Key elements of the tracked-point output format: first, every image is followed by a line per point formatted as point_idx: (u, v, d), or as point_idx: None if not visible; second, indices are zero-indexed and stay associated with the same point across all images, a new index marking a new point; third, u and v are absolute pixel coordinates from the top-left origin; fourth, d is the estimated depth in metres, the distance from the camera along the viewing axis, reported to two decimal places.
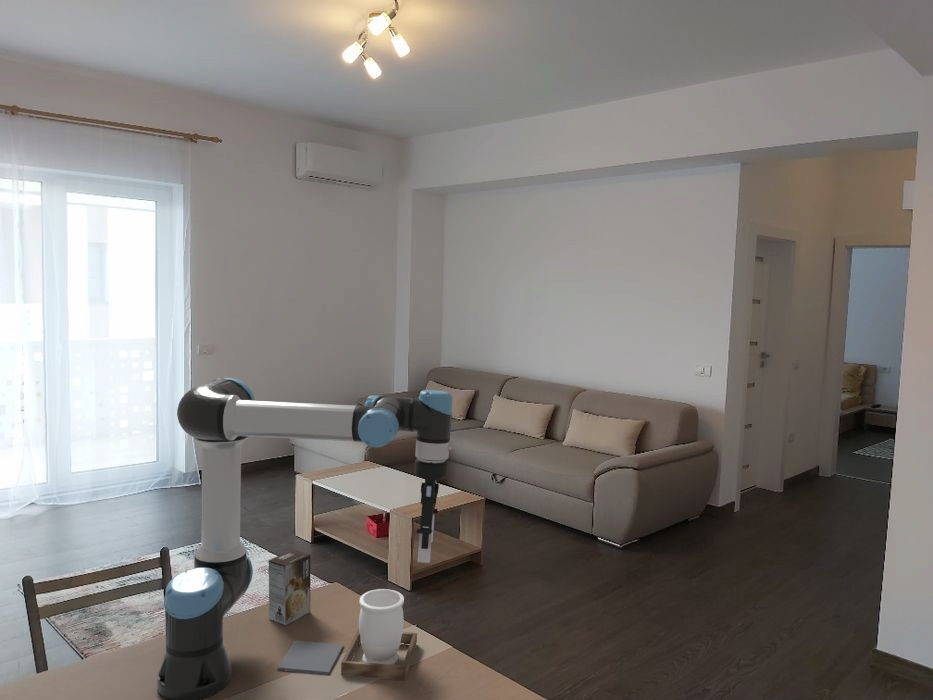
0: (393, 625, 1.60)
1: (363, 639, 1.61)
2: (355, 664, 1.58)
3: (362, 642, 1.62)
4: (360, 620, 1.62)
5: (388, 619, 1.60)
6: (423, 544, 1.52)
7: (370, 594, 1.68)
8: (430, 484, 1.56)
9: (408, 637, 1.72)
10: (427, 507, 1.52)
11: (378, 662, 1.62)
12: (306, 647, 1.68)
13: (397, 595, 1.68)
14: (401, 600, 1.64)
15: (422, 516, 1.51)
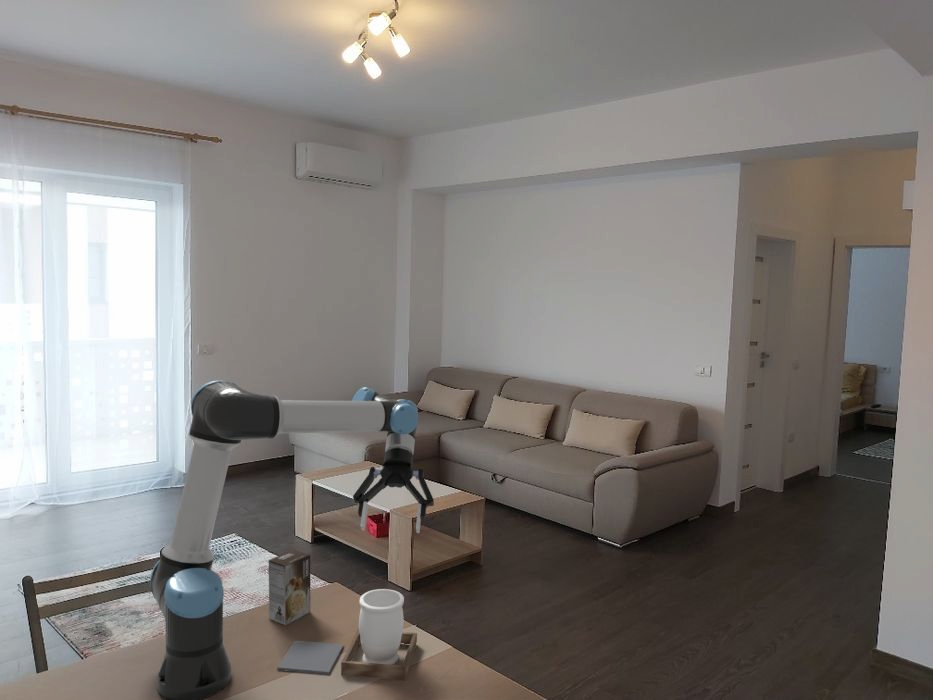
0: (393, 625, 1.60)
1: (363, 639, 1.61)
2: (355, 664, 1.58)
3: (362, 642, 1.62)
4: (360, 620, 1.62)
5: (388, 619, 1.60)
6: (425, 513, 1.74)
7: (370, 594, 1.68)
8: None
9: (408, 637, 1.72)
10: None
11: (378, 662, 1.62)
12: (306, 647, 1.68)
13: (397, 595, 1.68)
14: (401, 600, 1.64)
15: None
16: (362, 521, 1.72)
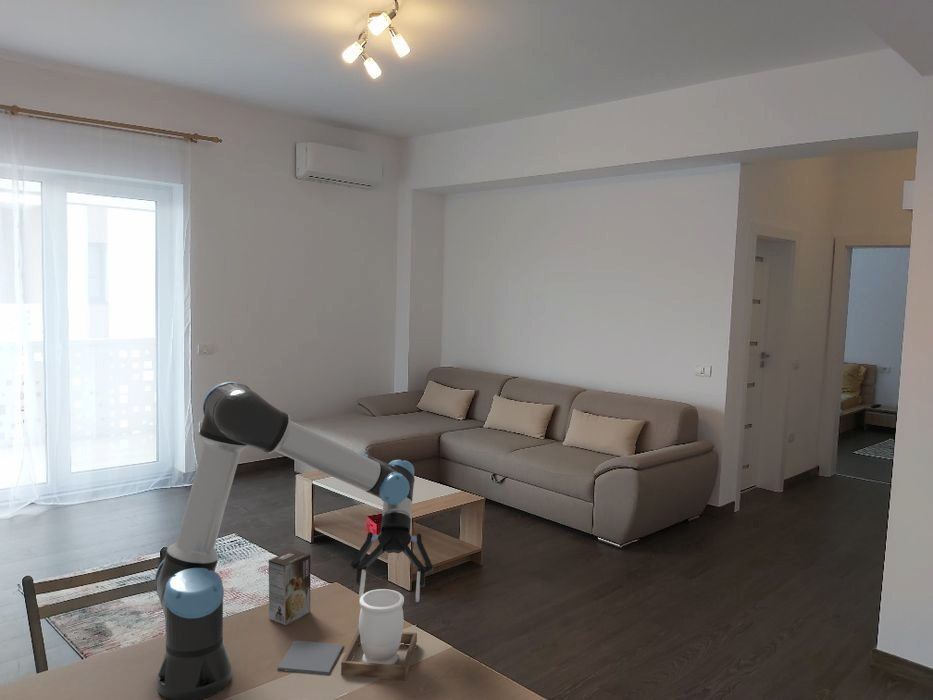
0: (393, 625, 1.60)
1: (363, 639, 1.61)
2: (355, 664, 1.58)
3: (362, 642, 1.62)
4: (360, 620, 1.62)
5: (388, 619, 1.60)
6: None
7: (370, 594, 1.68)
8: None
9: (408, 637, 1.72)
10: None
11: (378, 662, 1.62)
12: (306, 647, 1.68)
13: (397, 595, 1.68)
14: (401, 600, 1.64)
15: None
16: (361, 591, 1.70)
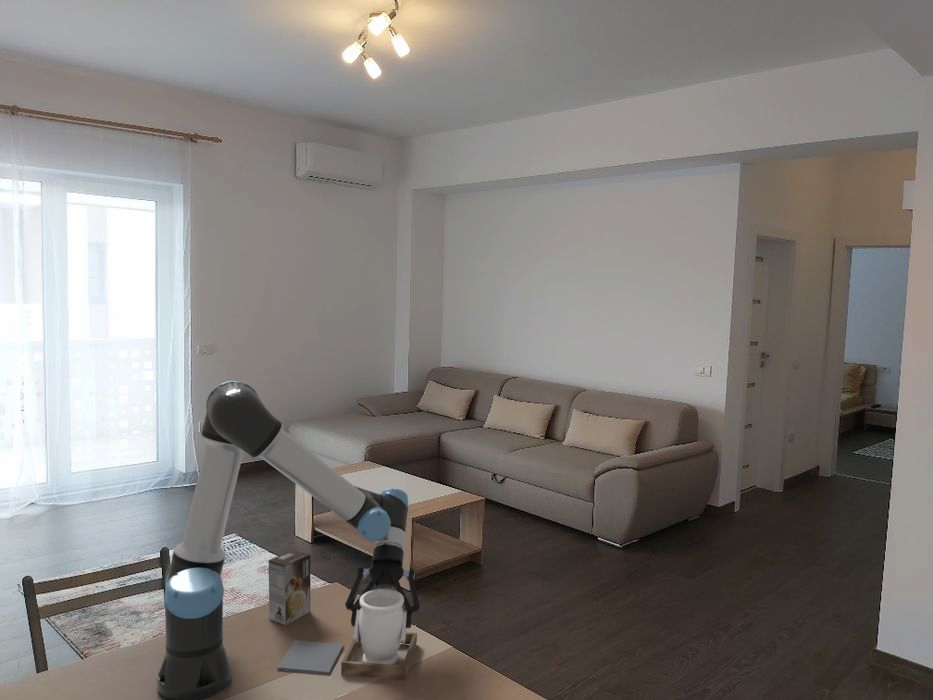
0: (393, 625, 1.60)
1: (363, 639, 1.61)
2: (355, 664, 1.58)
3: (362, 642, 1.62)
4: (360, 620, 1.62)
5: (389, 619, 1.60)
6: (410, 622, 1.64)
7: (370, 594, 1.68)
8: None
9: (408, 637, 1.72)
10: None
11: (378, 662, 1.62)
12: (306, 647, 1.68)
13: (397, 595, 1.68)
14: (401, 599, 1.64)
15: None
16: (355, 633, 1.62)
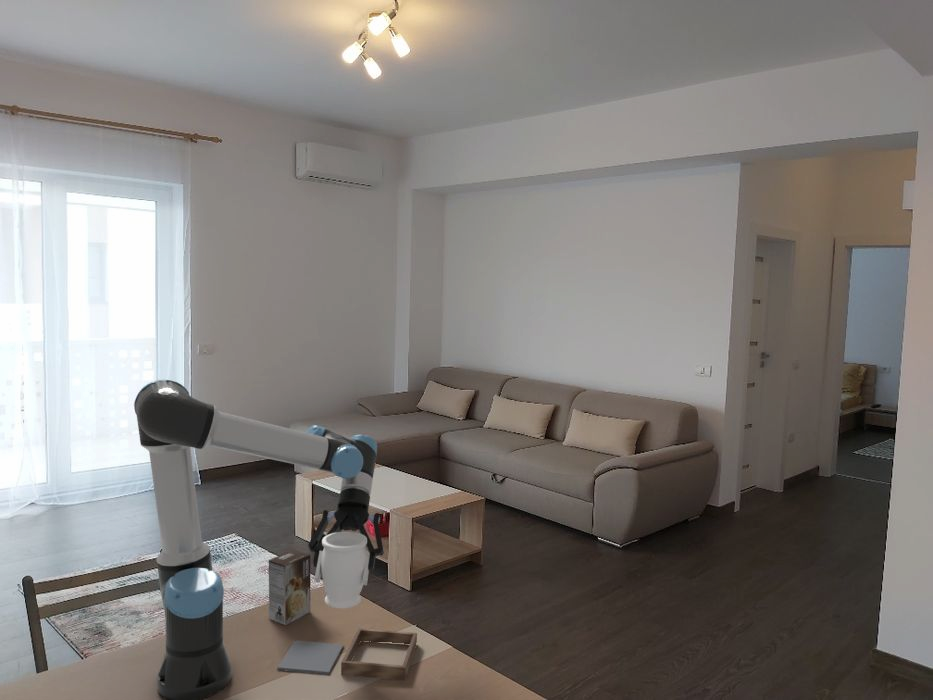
0: (355, 565, 1.59)
1: (325, 579, 1.60)
2: (355, 664, 1.58)
3: (324, 582, 1.61)
4: (322, 560, 1.61)
5: (350, 558, 1.59)
6: (373, 564, 1.63)
7: (334, 536, 1.66)
8: None
9: (408, 637, 1.72)
10: None
11: (339, 602, 1.60)
12: (306, 647, 1.68)
13: (361, 537, 1.66)
14: (363, 540, 1.62)
15: None
16: (317, 573, 1.60)
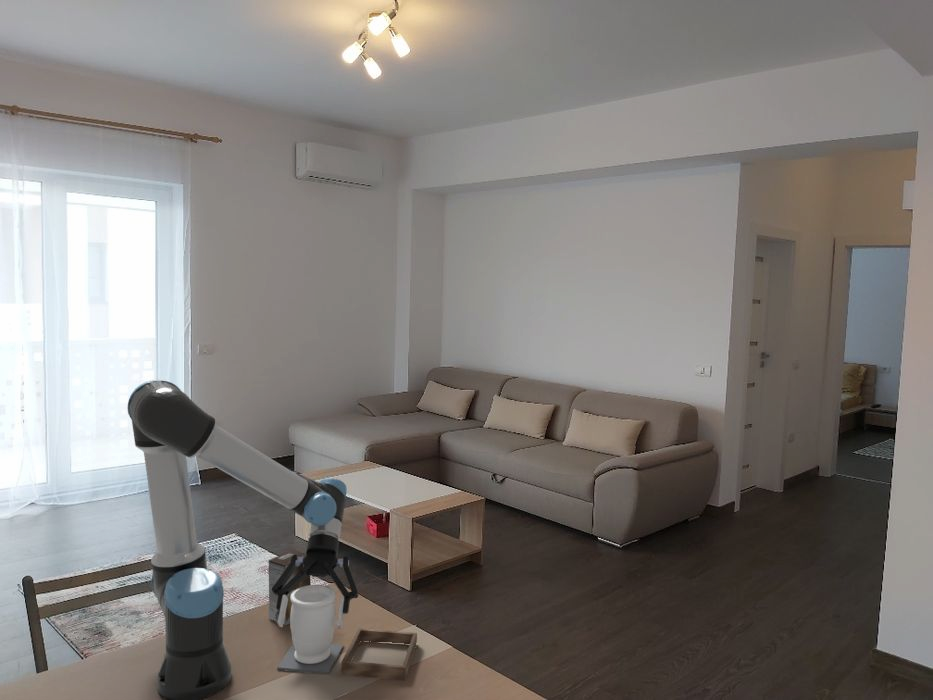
0: (323, 620, 1.60)
1: (293, 635, 1.61)
2: (355, 664, 1.58)
3: (293, 638, 1.62)
4: (291, 616, 1.62)
5: (318, 614, 1.60)
6: (348, 608, 1.64)
7: (303, 590, 1.67)
8: None
9: (408, 637, 1.72)
10: None
11: (308, 658, 1.61)
12: None
13: (330, 591, 1.67)
14: (332, 595, 1.63)
15: None
16: (280, 617, 1.62)
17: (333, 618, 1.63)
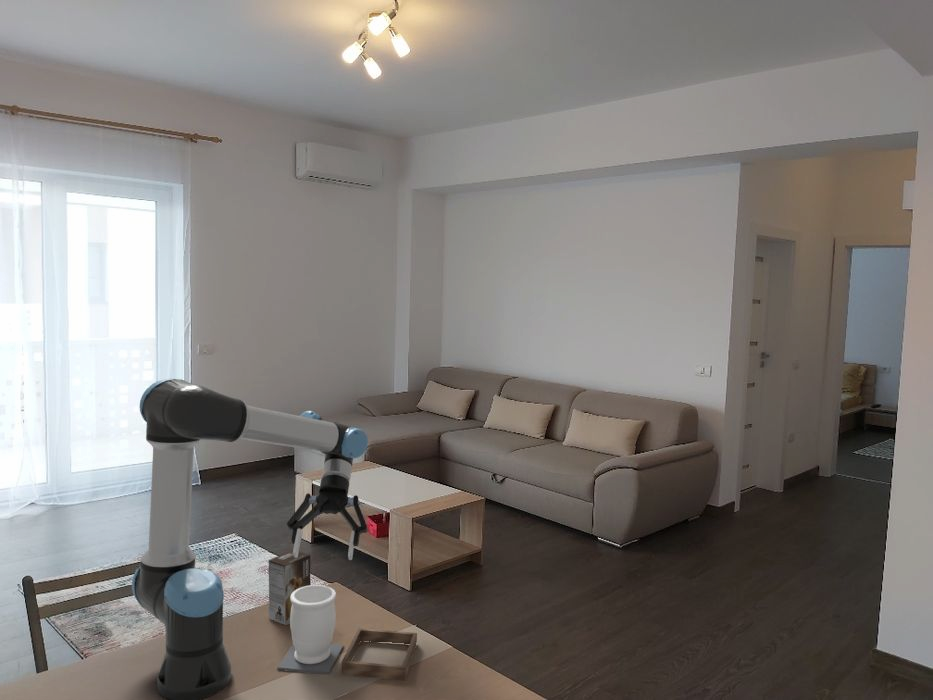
0: (323, 621, 1.60)
1: (293, 635, 1.61)
2: (355, 664, 1.58)
3: (293, 638, 1.62)
4: (291, 616, 1.62)
5: (318, 615, 1.59)
6: (358, 540, 1.77)
7: (303, 590, 1.67)
8: None
9: (408, 637, 1.72)
10: None
11: (308, 658, 1.61)
12: None
13: (330, 591, 1.67)
14: (332, 595, 1.63)
15: None
16: (295, 548, 1.74)
17: (333, 618, 1.63)
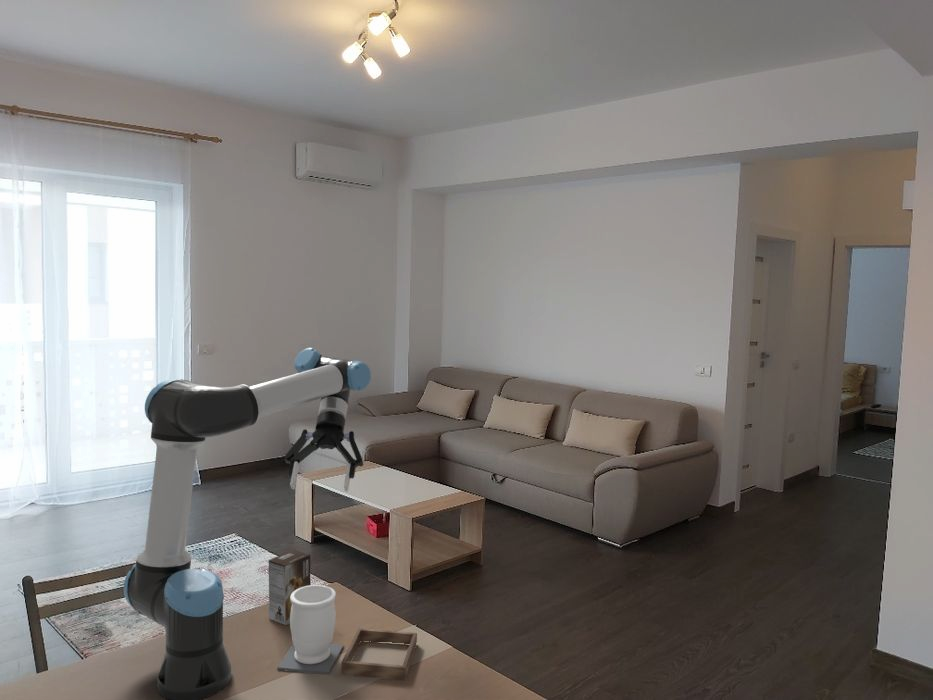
0: (323, 621, 1.60)
1: (293, 635, 1.61)
2: (355, 664, 1.58)
3: (293, 638, 1.62)
4: (291, 616, 1.62)
5: (318, 615, 1.59)
6: (353, 473, 1.81)
7: (303, 590, 1.67)
8: None
9: (408, 637, 1.72)
10: None
11: (308, 658, 1.61)
12: None
13: (330, 591, 1.67)
14: (332, 595, 1.63)
15: (358, 450, 1.84)
16: (292, 480, 1.78)
17: (333, 618, 1.63)
